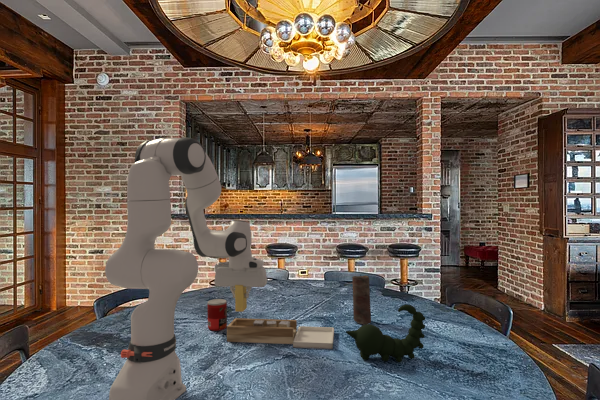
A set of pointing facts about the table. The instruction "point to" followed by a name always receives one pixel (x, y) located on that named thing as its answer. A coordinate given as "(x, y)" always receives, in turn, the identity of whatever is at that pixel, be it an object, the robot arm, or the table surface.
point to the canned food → (217, 314)
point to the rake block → (240, 298)
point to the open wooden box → (260, 331)
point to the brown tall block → (361, 299)
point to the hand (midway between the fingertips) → (240, 297)
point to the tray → (314, 337)
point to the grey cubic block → (258, 323)
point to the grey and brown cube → (284, 324)
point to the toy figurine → (390, 339)
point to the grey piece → (271, 323)
